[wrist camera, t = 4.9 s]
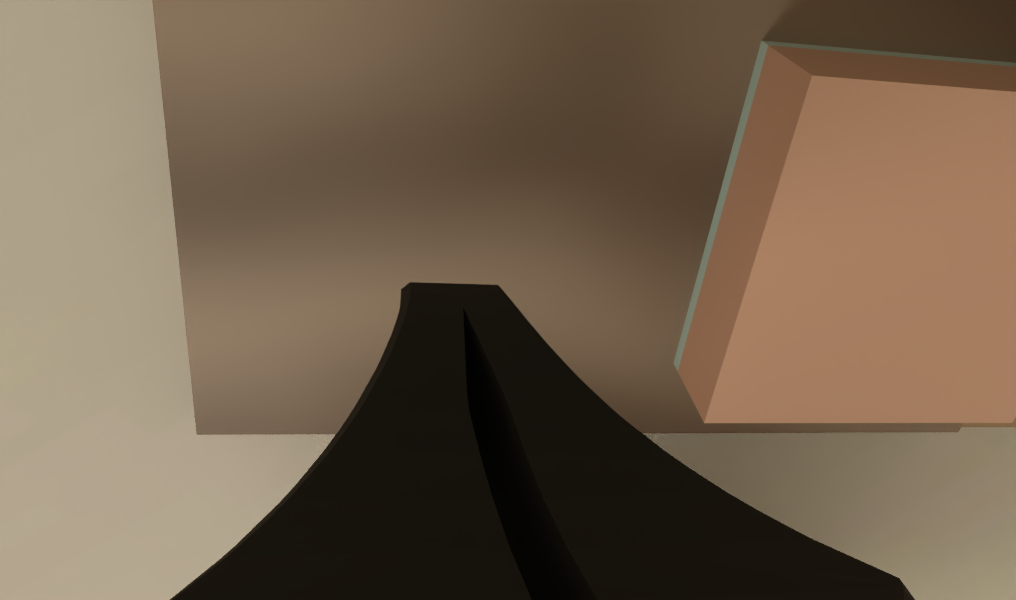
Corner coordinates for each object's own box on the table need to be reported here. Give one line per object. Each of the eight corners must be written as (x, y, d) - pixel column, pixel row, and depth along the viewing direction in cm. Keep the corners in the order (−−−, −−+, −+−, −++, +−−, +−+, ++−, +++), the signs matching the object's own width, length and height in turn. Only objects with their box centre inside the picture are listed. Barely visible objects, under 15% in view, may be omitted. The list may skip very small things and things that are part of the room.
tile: (673, 363, 18) (956, 367, 19) (703, 423, 17) (1012, 423, 18) (761, 40, 15) (1103, 70, 16) (812, 75, 13) (1190, 105, 14)
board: (1217, 402, 23) (1290, 457, 21) (206, 398, 18) (188, 467, 17) (1509, -5, 18) (1643, 21, 16) (154, -167, 13) (118, -157, 11)
